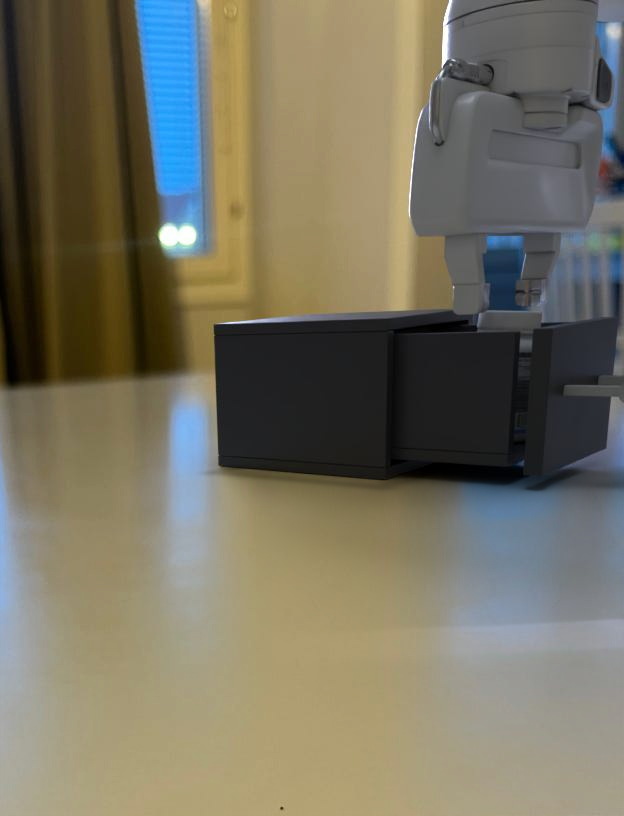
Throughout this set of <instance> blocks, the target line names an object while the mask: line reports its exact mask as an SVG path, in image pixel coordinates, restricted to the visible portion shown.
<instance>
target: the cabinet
mask: <svg viewBox="0 0 624 816" xmlns="http://www.w3.org/2000/svg"><path fill="white" fill-rule="evenodd" d="M469 324H474V314H467V315H457V314H456V313H454V311H453V309H452V308H437V309H436V308H435V309H411V310H410V309H409V310H386V311H383V310H382V311H381V310H380V311H359V312H358V311H355V312H333V313H307V314H298V315H288V316H287V315H286V316H278V317H269V318H259V319H250V320H249V319H248V320H239V321H230V322H222V323H214V324H213V349H214V372H215V373H214V374H215V375H214V377H215V378H214V379H215V405H216V406H215V407H216V409H215V410H216V431H217V432H216V435H217V436H216V437H217V455H218V456H217V463H218V466H220V467H229V468H230V467H231V468H243V469H253V470H267V471H277V472H289V473H291V472H292V473H302V474H313V475H323V476H324V475H325V476H337V477H348V478H350V477H351V478H359V479H374V480H382V481H383V480H384V481H385V480H388V479H391V478H394V477H396V476H400V475H402V474H405V473H408V472H411V471H414V470H418V469H420V468H424V467H426V466H429V465H431V464H432V465H433V464H434V463H436V462H428V461H413V460H399V459H391V421H392V376H393V330H400V329H407V328H415V327H422V326H433V325H469Z"/></svg>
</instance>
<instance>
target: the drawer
mask: <svg viewBox="0 0 624 816" xmlns="http://www.w3.org/2000/svg"><path fill="white" fill-rule="evenodd" d="M477 324H478V323H475V324H474V323H473V324H469V325H433V326H422V327H415V328H407V329H400V330H393V376H392V421H391V459H399V460H413V461H428V462H435V463H443V464H457V465H472V466H473V465H474V466H487V467H499V468H500V467H501V468H502V467H503V468H508V467H511V466H513V465H516V464H519V463H521V462H523V473H522V474H523V476H531V477H543V476H545V475H547V474H550V473H553V472H555V471H557V470H560V469H561V468H564V467H567V466H569V465H571V464H573V463H575V462H578V461H580V460H583V459H585V458H587V457H590V456H592V455H595V454H596V453H599V452H601V451H604V450H606V449H607V445H608V435H609V425H610V414H611V402H612V397H614V398H618V399H619V400H620V401H621V402H622V403H623V404H624V375H623V374H622V375H619V374H617V375H616V374H614V371H615V370H614V369H615V361H616V349H617V338H618V329H619V328H618V327H619V316H600V317H594V318H588V319H583V320H576V321H547V322H546V321H545V322H544V321H543V322H542V321H541V327H540V328H534V329H533V338H532V353H531V368H530V383H529V397H528V412H527V427H526V441H523V442H514V429H515V413H516V397H517V381H518V365H519V349H520V334H521V332H520V331H496V332H477V330H478V328H477Z"/></svg>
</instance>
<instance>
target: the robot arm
mask: <svg viewBox="0 0 624 816" xmlns="http://www.w3.org/2000/svg"><path fill="white" fill-rule="evenodd" d="M622 22H624V0H449V1H448V4H447V8H446V10H445V14H444V20H443V27H442V28H443V29H442V52H441V53H442V54H441V55H442V56H441V57H442V58H441V69H440V70H439V72H438V74H437V76H436V78H435V79H434V80H432V82H431V86H430V92H429V101H427V102H426V104H425V105H424V106H423V108H422V109H421V111H420V114H419V117H418V121H417V125H416V129H415V139H414V146H413V147H414V148H413V155H412V166H411V176H410V188H409V201H408V202H409V203H408V215H409V220H410V223H411V226H412V229H413V232H414V235H416V236H417V237H420V238H422V237H423V238H427V237H429V238H430V237H444V247H443V249H444V251H443V258H444V261H445V265H446V268H447V271H448V275H449V278H450V283H451V285H452V308H451V309H453V311H454V313H456V314H457V315H467V314H473V315H479V313H484V312H486V311H487V310H489V308H490V295H491V283H490V282H487V283H486V277H485V268H484V260H483V259H484V258H483V254H487V253H488V252H487V251H488V237H522V249H521V250H522V254H524V260H523V264H522V270H521V273H520V279H516V280H515V291H514V292H515V296H514V303H515V305H516V306H517V307H519V308H526V307H529V308H530V307H540V306H541V307H542V306H544V305H546V304H547V302H548V300H549V296H550V295H549V294H550V281H551V278H552V275H553V273H554V269H555V268H556V267H555V266H556V264H557V261H558V258H559V255H560V253H561V244H562V243H561V241H562V235H571V234H580V233H583V232H584V231H585V230H586V228H587V226H588V224H589V221H590V219H591V217H592V214H593V211H594V207H595V201H596V195H597V188H598V182H599V175H600V167H601V158H602V152H603V151H602V150H603V143H604V142H603V141H604V140H603V139H604V123H603V118H602V116H601V114H600V112H601V111H605V110H609V109H610V108H611V107H612V106H613V102H614V96H615V84H616V82H615V81H616V80H615V75H614V72H613V70H612V69H611V67H610V66H609V63H608V62H607V61H606V59H605V57H604V55H603V53H602V49H601V46H600V45H601V43H600V37H599V35H598V34H597V27H598V23H599V24H609V23H611V24H612V23H622Z"/></svg>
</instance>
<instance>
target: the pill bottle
mask: <svg viewBox="0 0 624 816" xmlns="http://www.w3.org/2000/svg"><path fill="white" fill-rule="evenodd" d="M542 319H543V312H542V311H539V310H538V311H535V310H534V311H533V310H494V309H493V310H491V309H487V311H486V312H484V313H479V314H478V319H477V323H476V324H477V328H478V330H477V332H496V331H520V332H521V334H520V349H519V365H518V381H517V397H516V413H515V429H514V442H523V441H526V427H527V412H528V397H529V383H530V368H531V353H532V338H533V329H534V328H540V327H541V322H542Z"/></svg>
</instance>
